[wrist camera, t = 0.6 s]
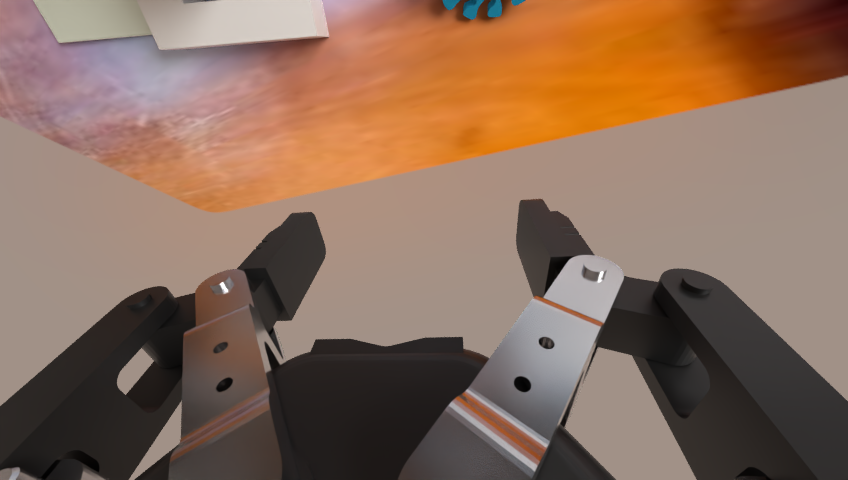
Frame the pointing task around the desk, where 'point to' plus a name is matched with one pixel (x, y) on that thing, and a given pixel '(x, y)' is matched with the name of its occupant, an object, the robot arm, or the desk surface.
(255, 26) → the white l-shaped piece
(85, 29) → the sage pad
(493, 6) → the gear
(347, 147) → the desk surface
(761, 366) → the robot arm
